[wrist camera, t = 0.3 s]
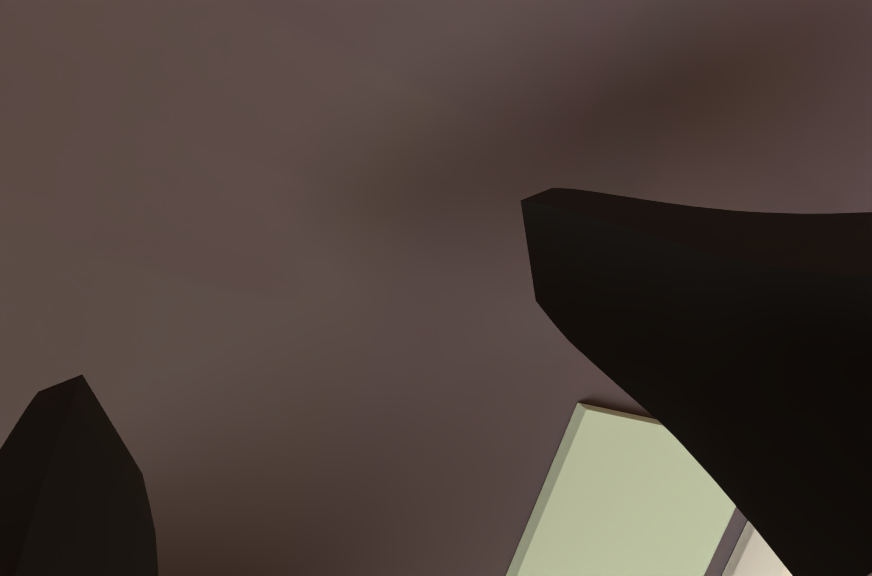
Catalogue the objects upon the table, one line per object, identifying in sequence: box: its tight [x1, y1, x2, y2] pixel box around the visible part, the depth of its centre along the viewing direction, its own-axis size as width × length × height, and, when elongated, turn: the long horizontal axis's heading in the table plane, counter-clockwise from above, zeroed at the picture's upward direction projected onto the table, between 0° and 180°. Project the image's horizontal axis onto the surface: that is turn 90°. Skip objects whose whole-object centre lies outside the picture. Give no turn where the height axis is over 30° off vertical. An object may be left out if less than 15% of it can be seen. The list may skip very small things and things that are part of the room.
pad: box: [506, 403, 736, 576], centre depth 30 cm, size 12×10×1 cm
